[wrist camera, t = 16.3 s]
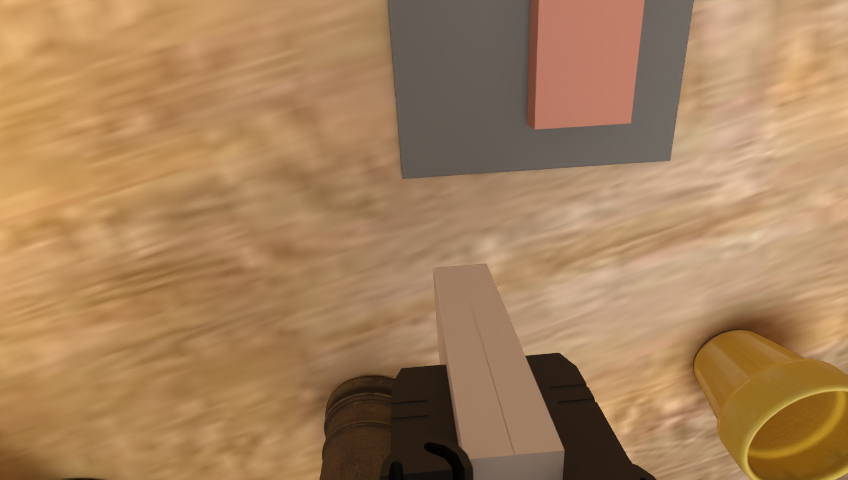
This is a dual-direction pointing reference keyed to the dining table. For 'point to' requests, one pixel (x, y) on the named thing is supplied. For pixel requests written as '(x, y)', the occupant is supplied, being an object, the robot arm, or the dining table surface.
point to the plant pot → (775, 408)
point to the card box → (582, 62)
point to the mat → (517, 91)
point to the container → (357, 429)
